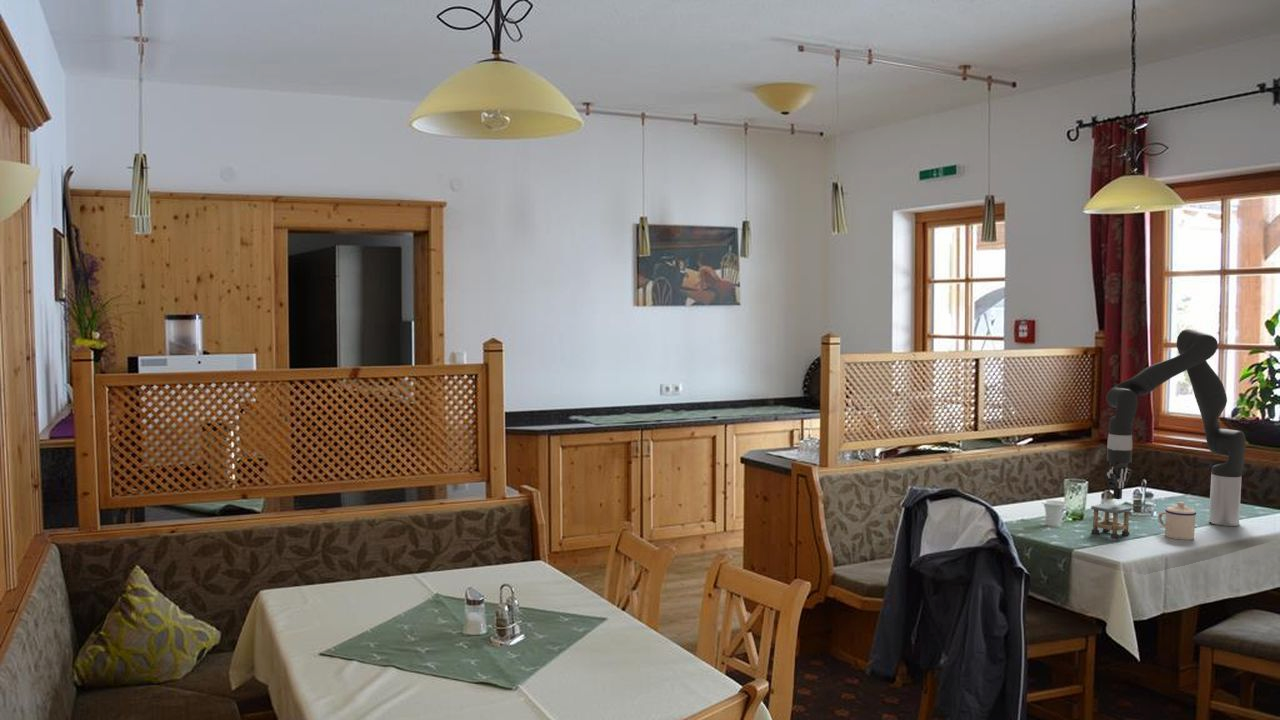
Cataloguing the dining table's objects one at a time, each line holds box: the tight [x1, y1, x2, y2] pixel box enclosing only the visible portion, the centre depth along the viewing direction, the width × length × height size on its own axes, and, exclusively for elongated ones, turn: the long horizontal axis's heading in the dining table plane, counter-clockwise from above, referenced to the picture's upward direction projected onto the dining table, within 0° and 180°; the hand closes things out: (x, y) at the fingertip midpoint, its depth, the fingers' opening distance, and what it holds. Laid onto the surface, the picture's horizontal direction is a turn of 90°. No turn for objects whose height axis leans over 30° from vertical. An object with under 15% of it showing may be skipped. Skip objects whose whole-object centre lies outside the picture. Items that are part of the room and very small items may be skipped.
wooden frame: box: [1090, 502, 1133, 539], centre depth 342 cm, size 9×9×9 cm
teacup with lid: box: [1157, 501, 1197, 541], centre depth 340 cm, size 12×9×12 cm
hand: (1117, 498), depth 343 cm, fingers closed
